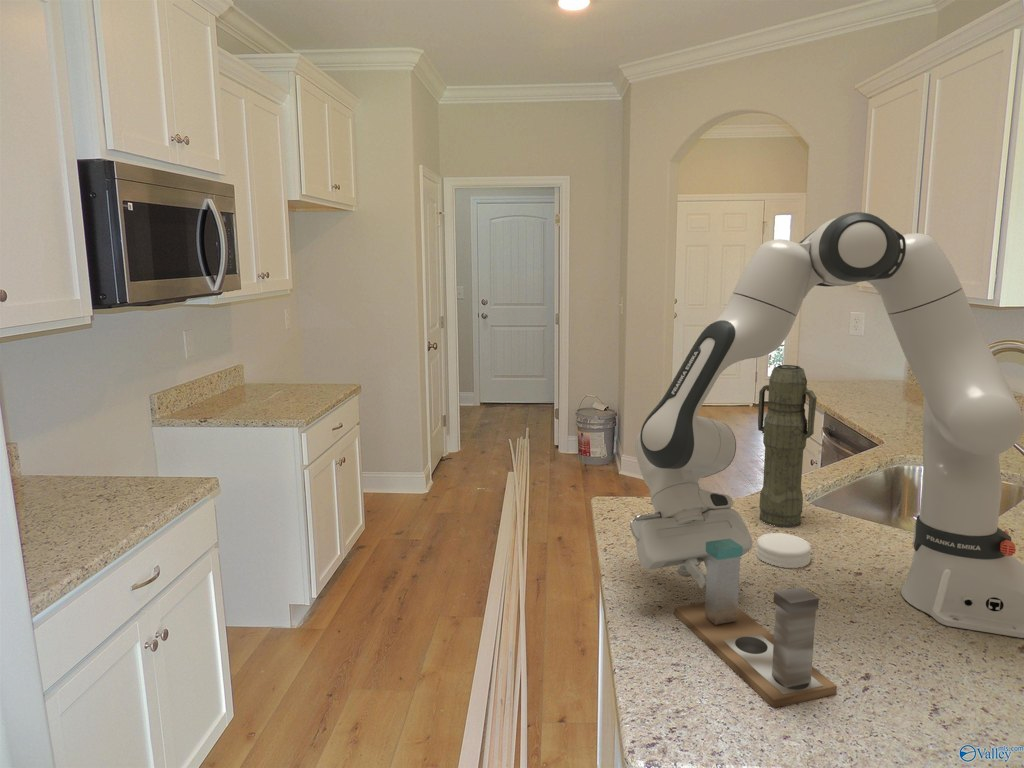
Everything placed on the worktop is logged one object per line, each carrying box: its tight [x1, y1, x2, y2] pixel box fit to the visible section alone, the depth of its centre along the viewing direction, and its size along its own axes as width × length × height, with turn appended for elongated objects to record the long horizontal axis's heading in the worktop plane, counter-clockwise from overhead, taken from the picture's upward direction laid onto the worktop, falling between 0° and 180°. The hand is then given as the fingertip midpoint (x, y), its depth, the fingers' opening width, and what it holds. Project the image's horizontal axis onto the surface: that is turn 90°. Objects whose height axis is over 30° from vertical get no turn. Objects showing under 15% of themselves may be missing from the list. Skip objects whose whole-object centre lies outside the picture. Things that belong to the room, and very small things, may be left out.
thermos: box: [757, 364, 817, 528], centre depth 153 cm, size 9×12×35 cm
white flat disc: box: [755, 532, 812, 569], centre depth 137 cm, size 10×10×4 cm
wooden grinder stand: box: [673, 586, 838, 709], centre depth 104 cm, size 26×10×14 cm, turn 17°
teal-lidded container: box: [704, 539, 743, 625], centre depth 111 cm, size 3×4×13 cm
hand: (709, 586), depth 115 cm, fingers closed
